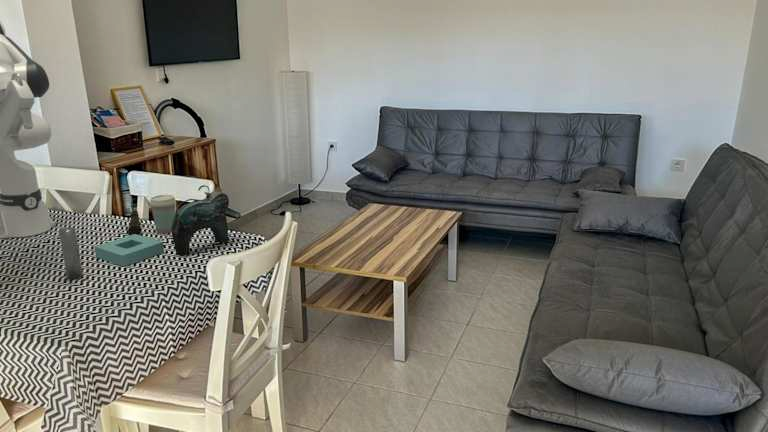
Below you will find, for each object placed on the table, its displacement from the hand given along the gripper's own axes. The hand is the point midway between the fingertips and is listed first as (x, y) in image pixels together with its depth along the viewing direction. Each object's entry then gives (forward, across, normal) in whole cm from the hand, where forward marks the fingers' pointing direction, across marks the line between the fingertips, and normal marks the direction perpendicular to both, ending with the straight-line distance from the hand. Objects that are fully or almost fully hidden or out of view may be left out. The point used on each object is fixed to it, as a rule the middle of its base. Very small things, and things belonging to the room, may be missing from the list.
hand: (24, 137), depth 152 cm
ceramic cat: (+39, +11, -43) cm, 59 cm away
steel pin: (+35, +19, -6) cm, 40 cm away
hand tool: (+18, +40, -40) cm, 59 cm away
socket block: (+32, +21, -25) cm, 46 cm away
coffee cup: (+24, +30, -45) cm, 59 cm away
